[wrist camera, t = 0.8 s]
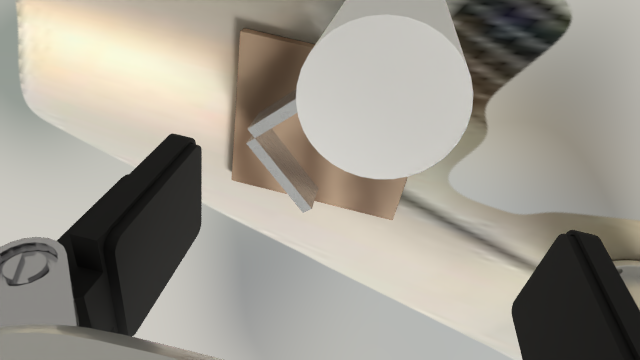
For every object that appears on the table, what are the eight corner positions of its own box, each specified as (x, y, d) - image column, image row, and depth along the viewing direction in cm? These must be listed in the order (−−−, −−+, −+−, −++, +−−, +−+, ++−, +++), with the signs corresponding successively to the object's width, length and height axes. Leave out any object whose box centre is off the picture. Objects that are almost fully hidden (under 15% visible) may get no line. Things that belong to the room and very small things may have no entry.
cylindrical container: (343, -19, 38) (262, 76, 17) (415, -70, 35) (420, -28, 14) (383, 49, 41) (353, 201, 20) (453, 7, 37) (502, 136, 17)
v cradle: (442, 73, 41) (445, 93, 36) (392, 214, 51) (391, 242, 47) (244, 28, 42) (225, 42, 38) (235, 174, 52) (219, 199, 48)
